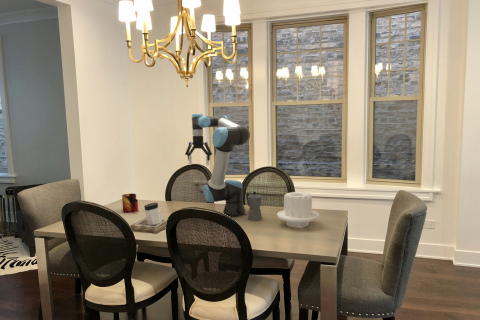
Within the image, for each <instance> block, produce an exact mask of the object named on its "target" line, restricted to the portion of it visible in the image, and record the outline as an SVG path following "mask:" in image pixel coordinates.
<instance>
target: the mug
mask: <svg viewBox="0 0 480 320" xmlns="http://www.w3.org/2000/svg"><path fill="white" fill-rule="evenodd" d="M121 199H122V200H121V202H122V213H124V214H133V213H138V212H139V202H138V201H139V200H138V199H137V194H136V193H124V194H122V195H121Z"/></svg>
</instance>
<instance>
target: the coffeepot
mask: <svg viewBox="0 0 480 320" xmlns="http://www.w3.org/2000/svg"><path fill="white" fill-rule="evenodd" d="M252 193H253V194H252ZM252 193H247V194H246V201H247V206H248V207H249V209H248V215H247V220H248V221H251V222H258V221H261V220H262V219H263V217H262V211H261V204H262V197H263V196H262V195H260V194H256V191H252Z"/></svg>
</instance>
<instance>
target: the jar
mask: <svg viewBox="0 0 480 320" xmlns="http://www.w3.org/2000/svg"><path fill="white" fill-rule="evenodd" d="M144 214H145V218H146V219H147V223H148V225H156V224H159V223H161V222H162V214H161V210H160V206H159V203H158V202H150V203H147V204H144Z"/></svg>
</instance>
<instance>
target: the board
mask: <svg viewBox="0 0 480 320" xmlns="http://www.w3.org/2000/svg"><path fill="white" fill-rule="evenodd" d="M167 220H168V219H162V222H161V223H159V224H156V225H148V223H147V219H146V217H145V218H142V219H141V220H139V221H137V222H135V223H133V224H131V225H129V226H130V227H131V229H132V230H133V231H132V232H138V233H148V234H149V233H150V234H159V233H160V232H163V231H164V230H166V229H165V227H166V222H167Z"/></svg>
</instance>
